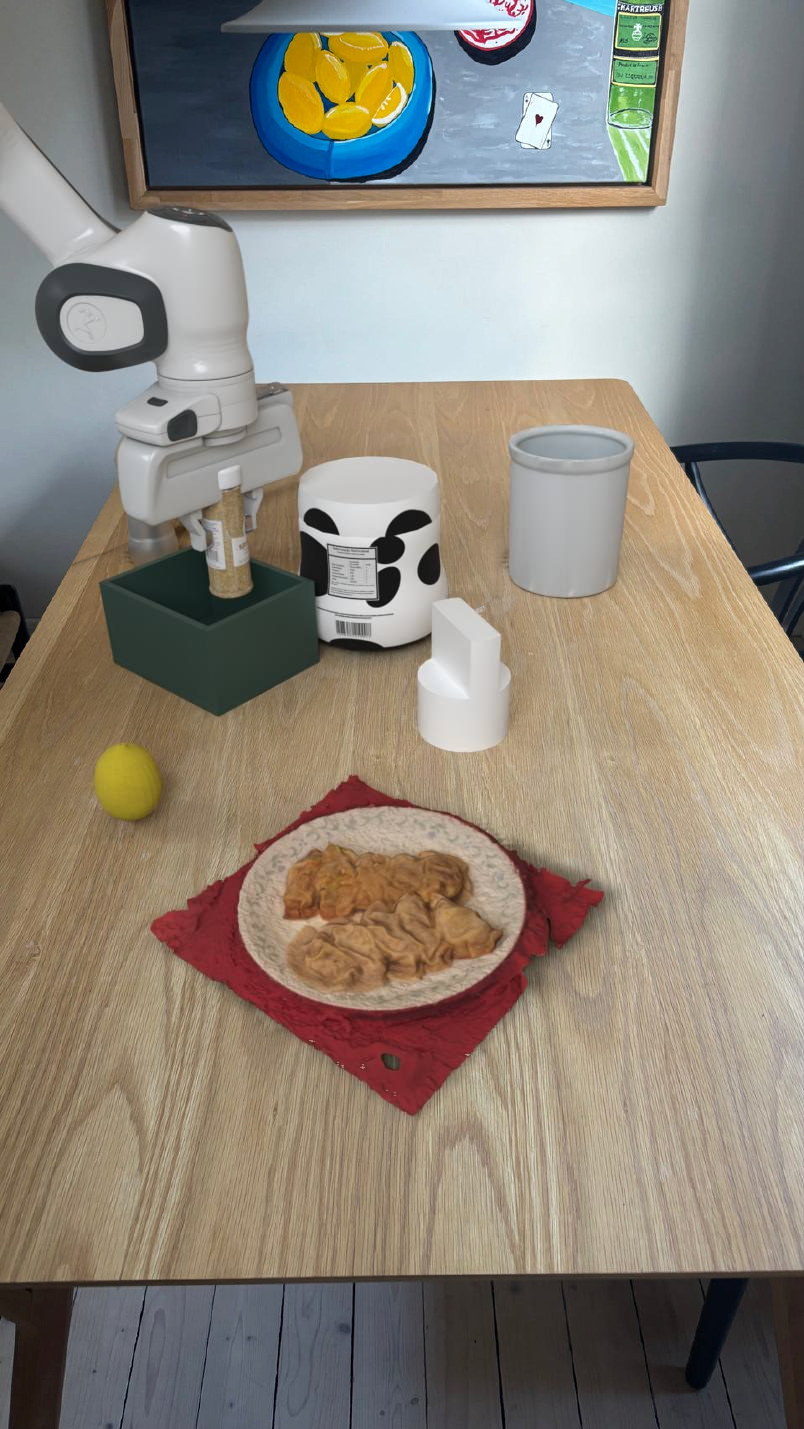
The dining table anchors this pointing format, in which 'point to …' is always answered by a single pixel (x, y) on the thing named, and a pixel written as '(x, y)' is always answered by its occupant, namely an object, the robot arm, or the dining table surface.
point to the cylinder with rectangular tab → (463, 682)
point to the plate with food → (379, 934)
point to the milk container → (372, 550)
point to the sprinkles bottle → (228, 539)
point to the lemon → (127, 782)
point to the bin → (210, 629)
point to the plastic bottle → (148, 535)
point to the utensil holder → (567, 508)
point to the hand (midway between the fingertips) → (224, 539)
